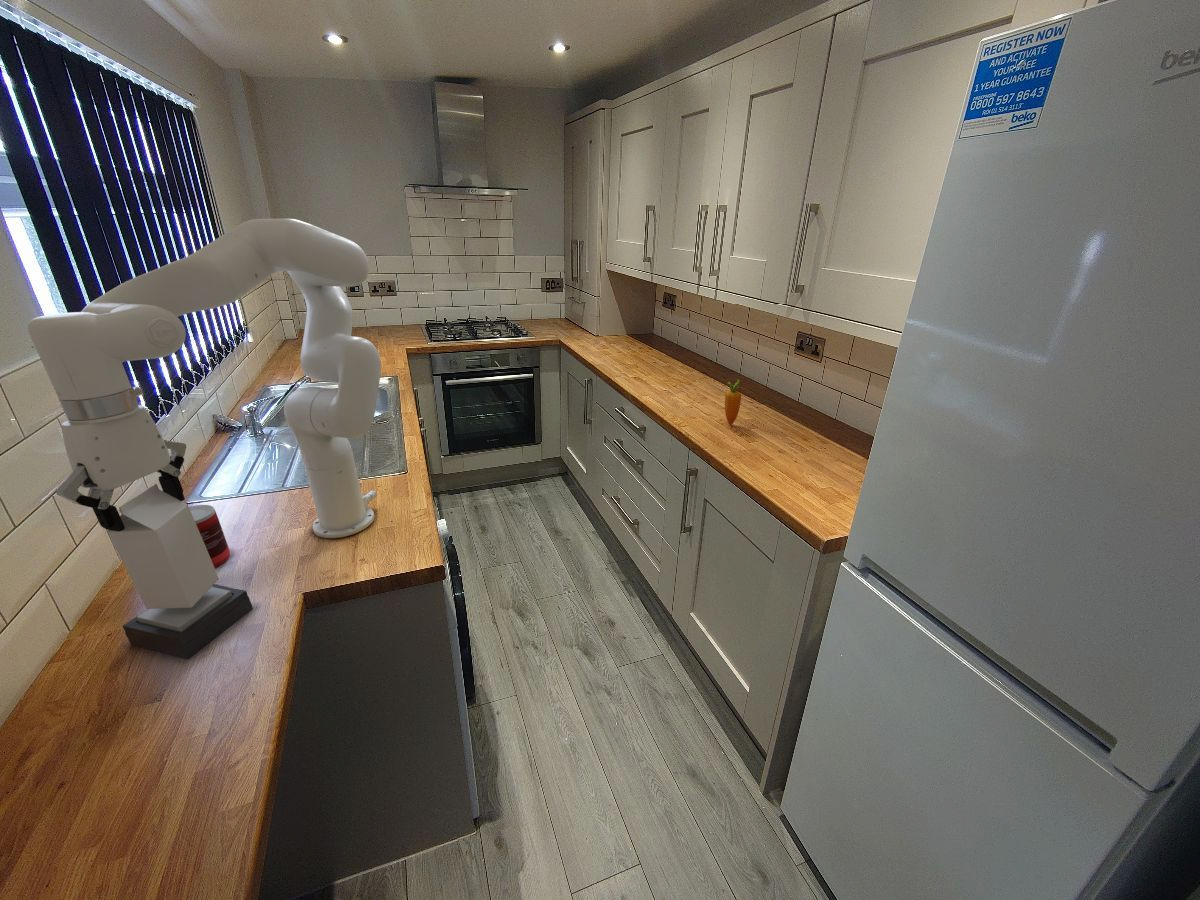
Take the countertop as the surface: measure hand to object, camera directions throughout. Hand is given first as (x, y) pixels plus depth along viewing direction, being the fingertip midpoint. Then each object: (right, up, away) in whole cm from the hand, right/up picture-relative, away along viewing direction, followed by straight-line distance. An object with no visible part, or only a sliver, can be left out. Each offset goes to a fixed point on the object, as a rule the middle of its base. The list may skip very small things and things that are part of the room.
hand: (147, 513), depth 79 cm
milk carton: (0, -14, +7) cm, 16 cm away
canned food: (-10, -13, +26) cm, 31 cm away
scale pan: (0, -17, +8) cm, 19 cm away
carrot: (+111, +18, +90) cm, 144 cm away
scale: (0, -20, +9) cm, 22 cm away
